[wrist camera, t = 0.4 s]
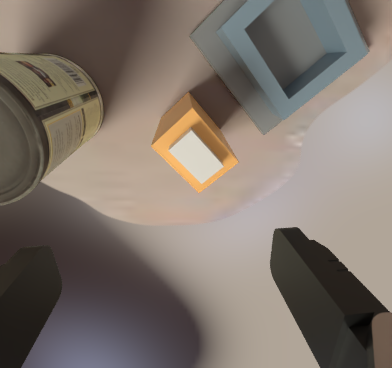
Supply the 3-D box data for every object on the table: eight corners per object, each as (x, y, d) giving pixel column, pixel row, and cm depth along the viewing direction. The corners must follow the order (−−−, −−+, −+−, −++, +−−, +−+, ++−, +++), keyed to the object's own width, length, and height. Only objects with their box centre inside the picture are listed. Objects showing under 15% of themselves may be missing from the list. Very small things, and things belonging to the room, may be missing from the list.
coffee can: (12, 133, 28) (-120, 188, 16) (8, 39, 24) (-179, 13, 11) (99, 155, 30) (41, 220, 18) (110, 72, 26) (44, 81, 13)
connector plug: (188, 91, 27) (192, 110, 17) (219, 129, 30) (241, 166, 19) (161, 117, 28) (149, 150, 18) (193, 151, 31) (199, 198, 20)
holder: (304, -83, 21) (333, -117, 17) (363, 51, 26) (395, 49, 22) (189, 36, 25) (191, 31, 21) (261, 133, 30) (273, 143, 26)
